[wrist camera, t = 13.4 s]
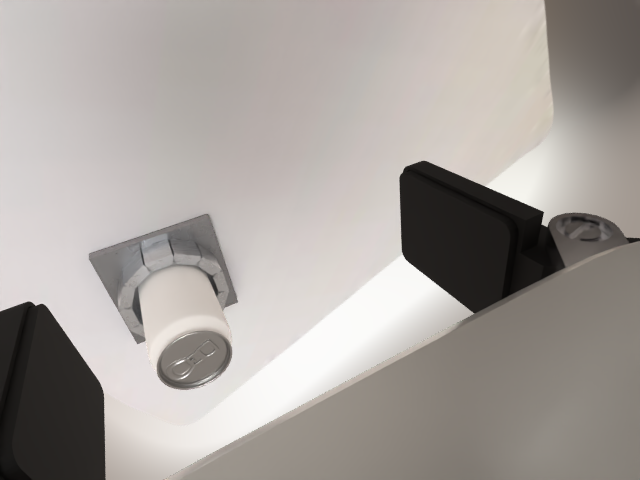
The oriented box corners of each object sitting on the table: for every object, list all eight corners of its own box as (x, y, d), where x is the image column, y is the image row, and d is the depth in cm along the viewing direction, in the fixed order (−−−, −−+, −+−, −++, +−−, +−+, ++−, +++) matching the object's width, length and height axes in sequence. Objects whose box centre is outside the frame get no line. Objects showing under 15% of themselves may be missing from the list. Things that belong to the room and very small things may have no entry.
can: (121, 279, 37) (130, 367, 28) (179, 239, 38) (207, 311, 29) (165, 318, 41) (186, 406, 32) (217, 280, 42) (252, 356, 33)
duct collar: (207, 214, 39) (216, 230, 36) (235, 297, 45) (245, 317, 42) (89, 253, 36) (88, 276, 33) (136, 338, 42) (139, 363, 39)
